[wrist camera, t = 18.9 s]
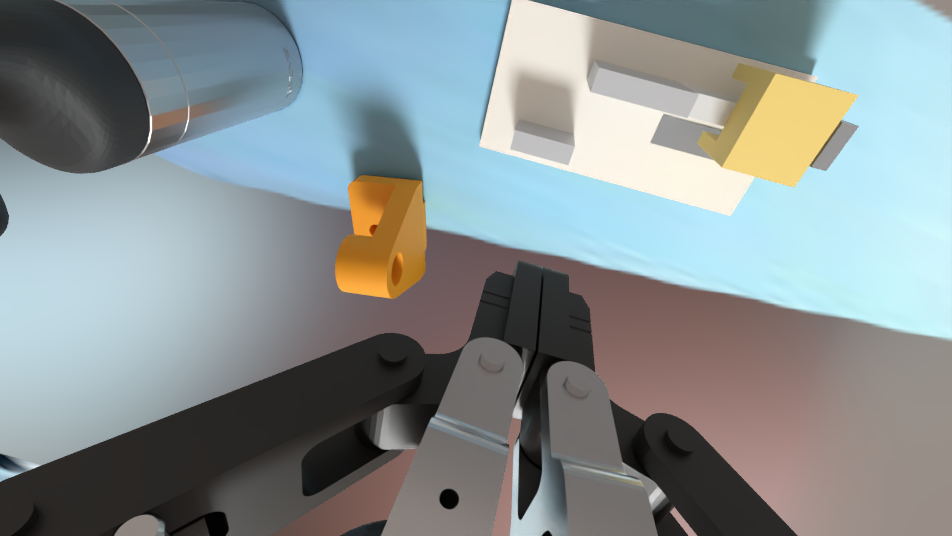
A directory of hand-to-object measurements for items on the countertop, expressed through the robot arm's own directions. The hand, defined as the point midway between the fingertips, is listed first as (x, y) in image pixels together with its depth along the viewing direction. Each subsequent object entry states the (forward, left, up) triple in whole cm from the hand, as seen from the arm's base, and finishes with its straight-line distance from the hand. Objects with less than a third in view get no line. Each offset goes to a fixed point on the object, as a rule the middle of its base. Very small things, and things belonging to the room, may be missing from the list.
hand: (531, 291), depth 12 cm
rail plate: (+6, +1, -29) cm, 30 cm away
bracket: (-13, -16, -29) cm, 36 cm away
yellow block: (+14, +4, -26) cm, 30 cm away
